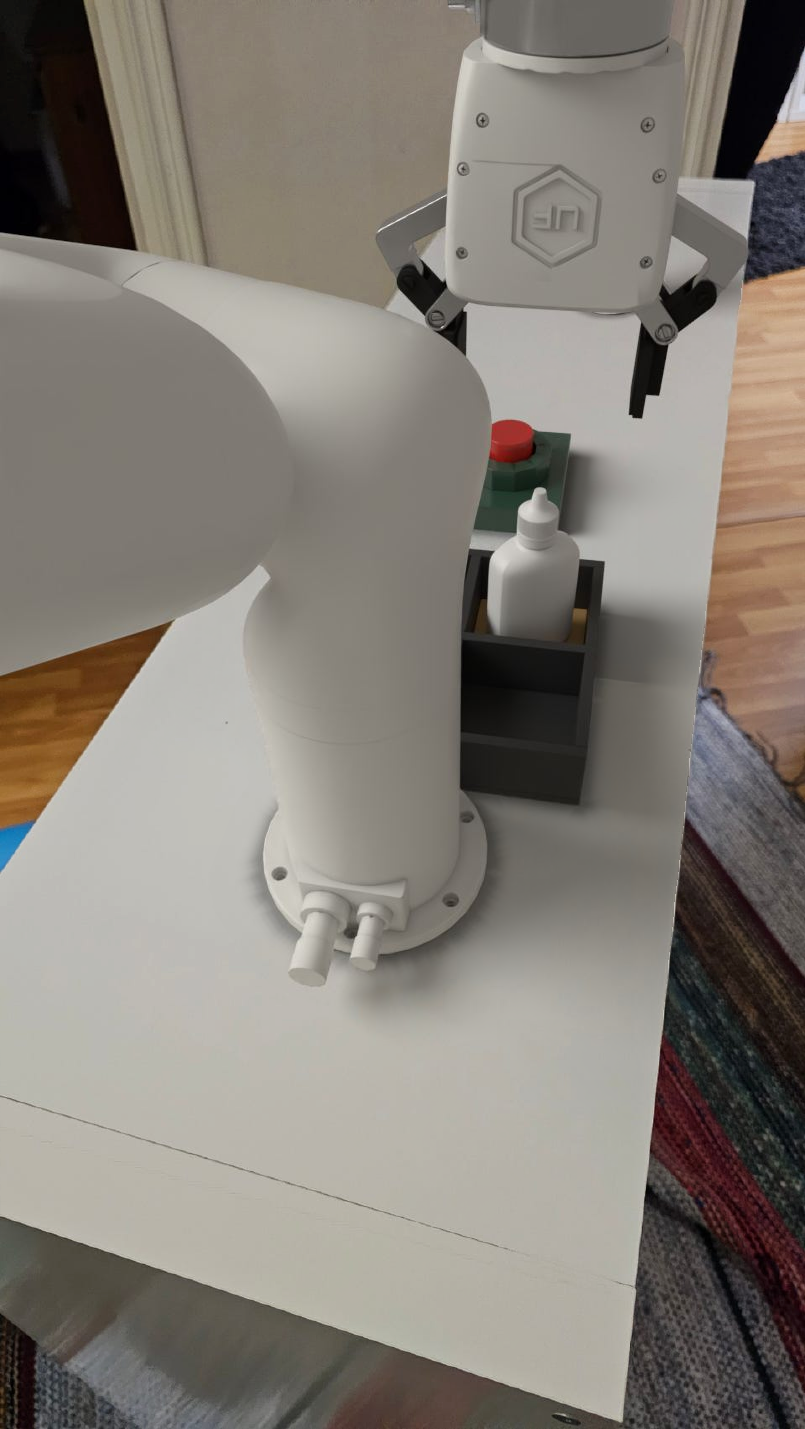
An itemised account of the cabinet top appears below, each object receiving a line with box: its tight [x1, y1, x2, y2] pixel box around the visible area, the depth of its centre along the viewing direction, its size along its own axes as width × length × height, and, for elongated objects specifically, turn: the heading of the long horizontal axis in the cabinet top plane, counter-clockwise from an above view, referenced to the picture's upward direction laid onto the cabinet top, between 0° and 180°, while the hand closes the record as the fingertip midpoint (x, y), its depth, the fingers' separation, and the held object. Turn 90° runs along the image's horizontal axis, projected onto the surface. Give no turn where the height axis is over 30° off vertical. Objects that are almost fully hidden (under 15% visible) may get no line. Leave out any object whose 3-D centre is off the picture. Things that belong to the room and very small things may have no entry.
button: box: [489, 419, 534, 463], centre depth 74 cm, size 4×4×2 cm
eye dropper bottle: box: [486, 487, 581, 642], centre depth 60 cm, size 4×6×12 cm
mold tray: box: [460, 548, 606, 806], centre depth 62 cm, size 17×17×5 cm
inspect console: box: [473, 428, 572, 534], centre depth 76 cm, size 11×9×4 cm
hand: (544, 398), depth 51 cm, fingers open, 9 cm apart
